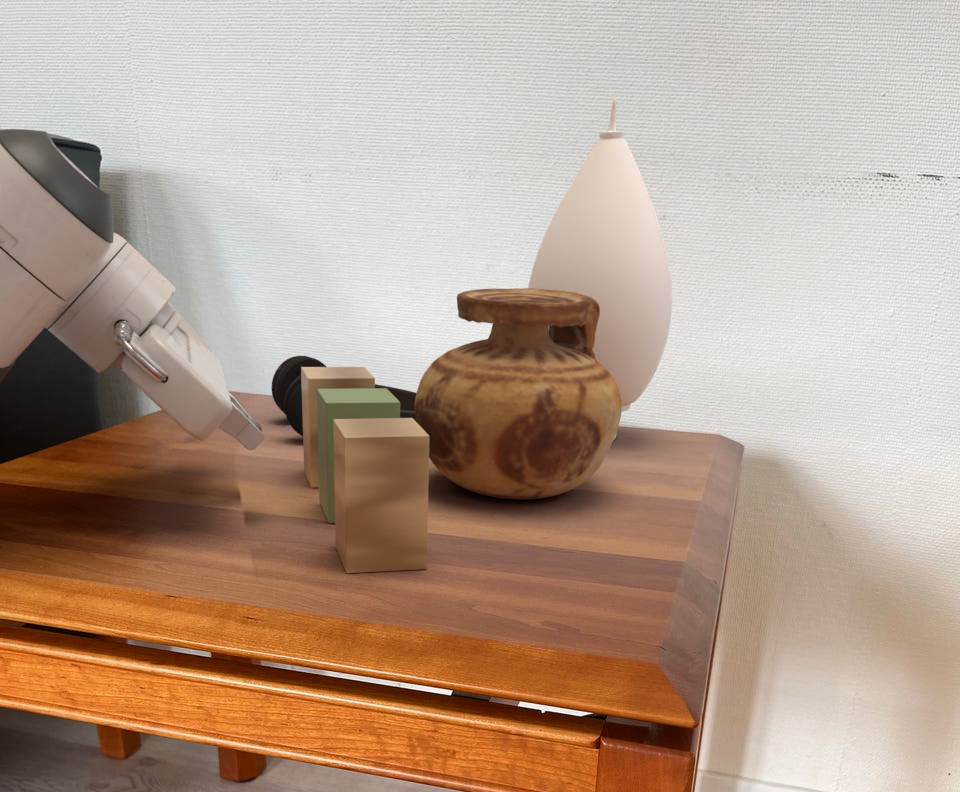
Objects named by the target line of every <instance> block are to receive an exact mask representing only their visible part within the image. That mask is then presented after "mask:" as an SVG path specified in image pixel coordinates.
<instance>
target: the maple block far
mask: <svg viewBox="0 0 960 792" xmlns="http://www.w3.org/2000/svg"><path fill="white" fill-rule="evenodd" d="M301 383H302V415H303V436H302V443H303V446H302V447H303V471H304V473H305V476H306V478H307V481H308V484H309V486H310V488H311V489H313V488H315V489H316V488H318V489H319V456H318V413H317V389H355V388H375V384H376V377H374V375H372V373H371V372H370V371H369V370H368V369H367V368H366V367H365V366H327V367H301Z"/></svg>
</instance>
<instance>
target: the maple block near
mask: <svg viewBox="0 0 960 792" xmlns="http://www.w3.org/2000/svg"><path fill="white" fill-rule="evenodd" d="M333 435H334V489H335V523H334V530H335V531H334V532H335V533H334V534H335V548H336V551H337V553H338V556H339V559H340V561H341V563H342V566H343V568H344V570H345V573H346V574H357V573H358V574H359V573H361V574H362V573H377V572H378V573H380V572H398V571H413V570H414V571H415V570H417V571H418V570H427V569H428V536H429V535H428V534H429V533H428V532H429V530H428V529H429V528H428V526H429V482H430V481H429V480H430V478H429V477H430V458H429V435H428V434H427V433H426V432H425V431H424V430H423V429H422V428H421V426H420V425H419V424H418V423H417V422H416V421H415V420H414V419H413V418H369V419H333Z"/></svg>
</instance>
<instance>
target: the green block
mask: <svg viewBox="0 0 960 792" xmlns="http://www.w3.org/2000/svg"><path fill="white" fill-rule="evenodd" d="M317 413H318V456H319V488H318V492H319V493H318V495H319V504H320V508H321V509H322V511H323V514H324V516H325V518H326V520H327V523H328V524H335V489H334V435H333V419H369V418H400V402H399V401H398V399H397V398H396V397H395V396H394V395H393V394H392V393H391V392H390V391H389V390H388V389H387V388H355V389H317Z"/></svg>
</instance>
